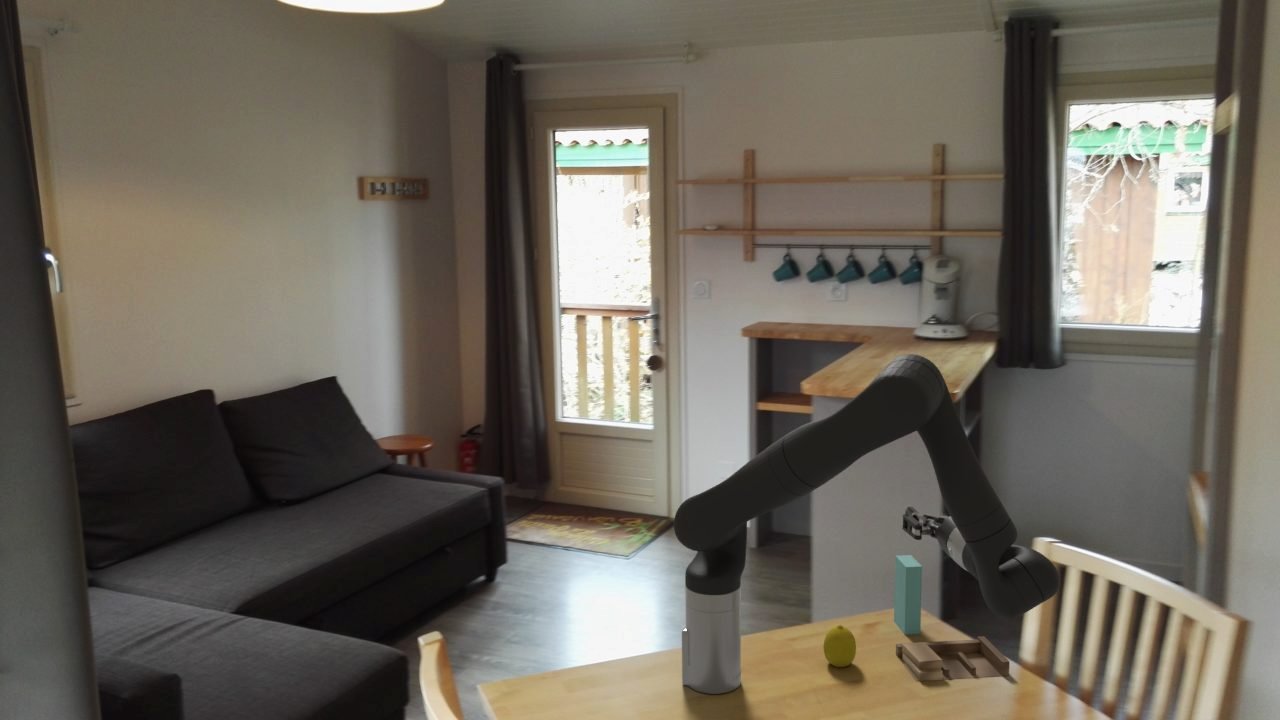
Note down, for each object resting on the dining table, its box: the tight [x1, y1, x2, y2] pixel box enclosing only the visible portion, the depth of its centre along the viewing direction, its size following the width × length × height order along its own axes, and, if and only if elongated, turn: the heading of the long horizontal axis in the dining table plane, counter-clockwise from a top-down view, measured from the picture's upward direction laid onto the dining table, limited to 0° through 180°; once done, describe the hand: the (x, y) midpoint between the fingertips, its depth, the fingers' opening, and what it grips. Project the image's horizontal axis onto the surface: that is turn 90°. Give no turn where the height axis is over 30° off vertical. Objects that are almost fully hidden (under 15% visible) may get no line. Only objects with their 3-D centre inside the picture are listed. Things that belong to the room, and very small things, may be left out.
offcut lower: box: [902, 654, 943, 682], centre depth 171 cm, size 4×8×2 cm, turn 5°
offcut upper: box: [901, 641, 942, 670], centre depth 171 cm, size 4×7×2 cm, turn 9°
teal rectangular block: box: [893, 554, 923, 636], centre depth 187 cm, size 3×6×14 cm, turn 4°
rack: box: [895, 635, 1010, 682], centre depth 173 cm, size 16×10×4 cm, turn 95°
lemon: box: [823, 624, 857, 668], centre depth 174 cm, size 6×6×8 cm
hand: (932, 511), depth 173 cm, fingers open, 8 cm apart
